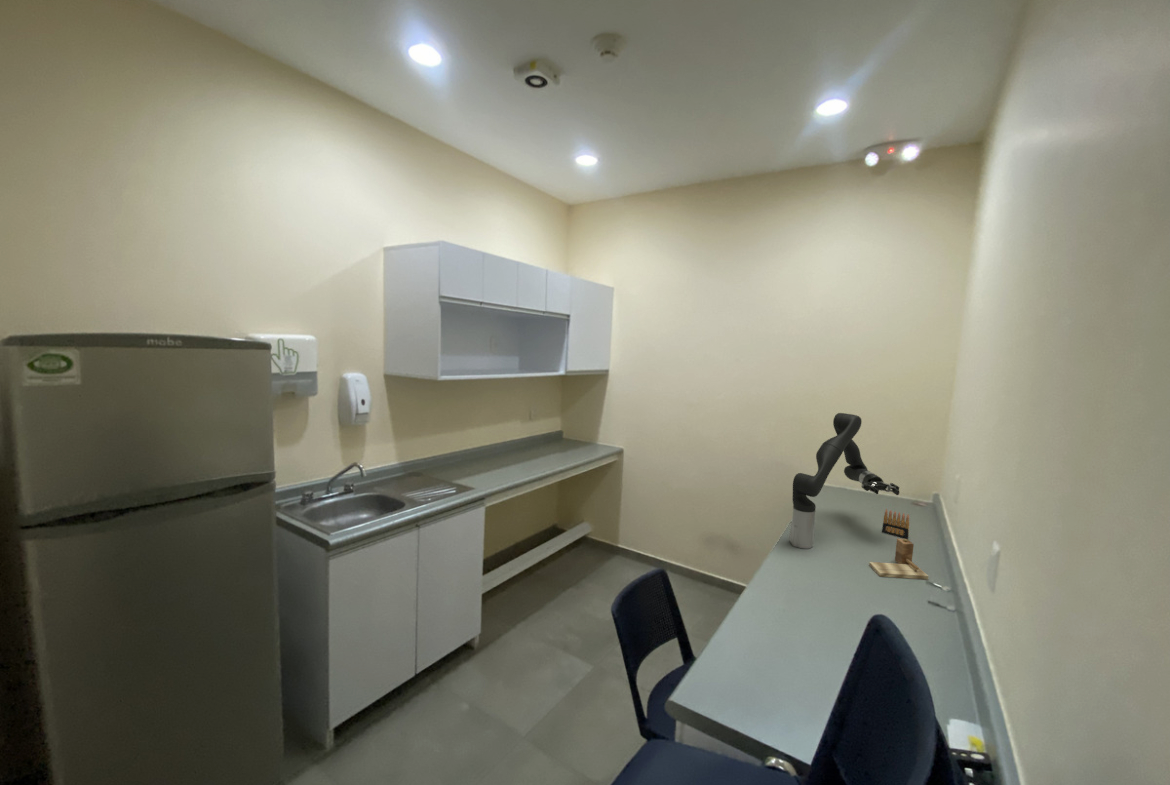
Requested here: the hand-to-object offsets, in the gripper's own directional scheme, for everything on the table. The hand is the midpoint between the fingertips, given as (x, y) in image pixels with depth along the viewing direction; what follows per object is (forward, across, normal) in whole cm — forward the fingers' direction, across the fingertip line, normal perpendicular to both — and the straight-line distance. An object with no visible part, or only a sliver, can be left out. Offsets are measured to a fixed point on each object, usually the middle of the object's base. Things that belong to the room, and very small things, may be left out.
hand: (887, 492), depth 210 cm
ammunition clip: (-14, +12, +26) cm, 32 cm away
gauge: (+19, +1, +26) cm, 32 cm away
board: (+23, -5, +26) cm, 35 cm away
